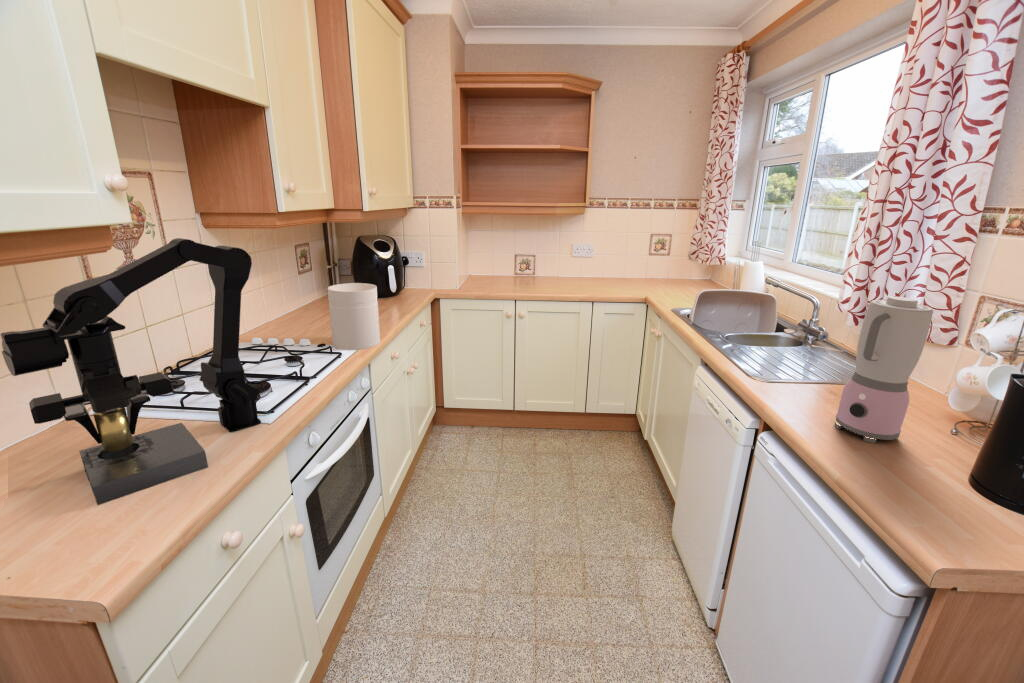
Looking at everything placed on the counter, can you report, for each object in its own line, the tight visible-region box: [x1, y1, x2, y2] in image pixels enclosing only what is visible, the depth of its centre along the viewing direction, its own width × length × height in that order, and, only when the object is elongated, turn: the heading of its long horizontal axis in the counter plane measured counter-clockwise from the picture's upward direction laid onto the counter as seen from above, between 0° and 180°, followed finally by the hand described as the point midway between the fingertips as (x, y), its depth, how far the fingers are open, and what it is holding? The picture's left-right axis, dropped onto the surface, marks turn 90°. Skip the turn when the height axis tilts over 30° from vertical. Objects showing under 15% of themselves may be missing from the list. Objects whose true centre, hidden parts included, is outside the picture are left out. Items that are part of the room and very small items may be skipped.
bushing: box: [93, 407, 133, 452], centre depth 84 cm, size 4×4×7 cm
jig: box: [79, 422, 209, 506], centre depth 86 cm, size 16×16×4 cm
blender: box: [834, 295, 934, 444], centre depth 103 cm, size 16×12×32 cm
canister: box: [327, 282, 381, 351], centre depth 160 cm, size 16×16×20 cm
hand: (116, 438), depth 85 cm, fingers closed on bushing, 4 cm apart
